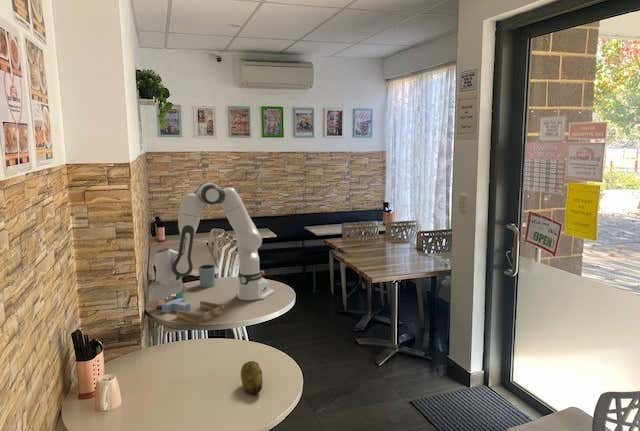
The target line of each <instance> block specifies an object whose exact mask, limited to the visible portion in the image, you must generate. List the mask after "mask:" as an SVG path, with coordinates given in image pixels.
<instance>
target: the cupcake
mask: <svg viewBox="0 0 640 431" xmlns="http://www.w3.org/2000/svg"><path fill="white" fill-rule="evenodd" d="M182 279H183V277H181V279H180V280H181V281H182ZM182 287H183V289H182V291H181V292H179V293H176V297H177V298H176V297H175V298H176V299H178V298H184V296H185V293H186V291H187V288H188V286H186V285H185V284H182Z"/></svg>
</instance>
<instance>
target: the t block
mask: <svg viewBox="0 0 640 431" xmlns="http://www.w3.org/2000/svg"><path fill="white" fill-rule="evenodd" d="M178 310H179V311H184V312H188V313H190V312H191V303H189V302H186V300H185V298H183V297H181V298H175V299H173V300H170V301H169V302H167V303H164V304H163V303H162V304H161V312H162V313H165V314H170V313H171V312H176V311H178Z"/></svg>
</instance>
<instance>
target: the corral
mask: <svg viewBox="0 0 640 431" xmlns="http://www.w3.org/2000/svg"><path fill="white" fill-rule="evenodd" d="M199 306H200V307H199V308H200V309H203V310H207V311H206V312H204V313H202V314H198V313H197V314H196V313H192V312H184V311H179V310H178V311H175V312H176V318H177V319H180V320H184V321H187V322H188V321H189V322H192V323H197V324H202V323H204V322H206V321H209V320H211V319H213V318H215V317H217V316H219V315H221V314H224V313H225V305H223V304H219V303H213V302H209V301H204V300H200V301H199Z"/></svg>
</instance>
